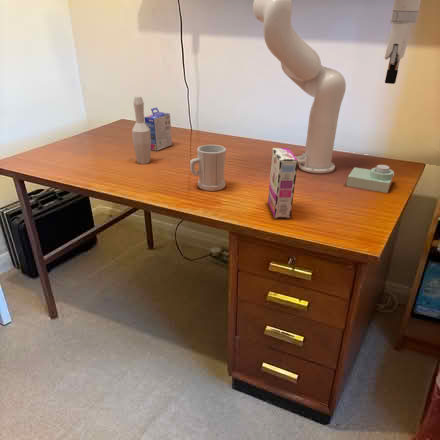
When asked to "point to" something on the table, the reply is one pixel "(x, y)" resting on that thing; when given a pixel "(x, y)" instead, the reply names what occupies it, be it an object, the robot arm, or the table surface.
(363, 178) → the green push button box
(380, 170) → the grey push button
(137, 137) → the faceted bottle
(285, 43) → the robot arm
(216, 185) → the cup
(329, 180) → the table surface
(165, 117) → the ink cartridge box
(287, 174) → the candy bar box
